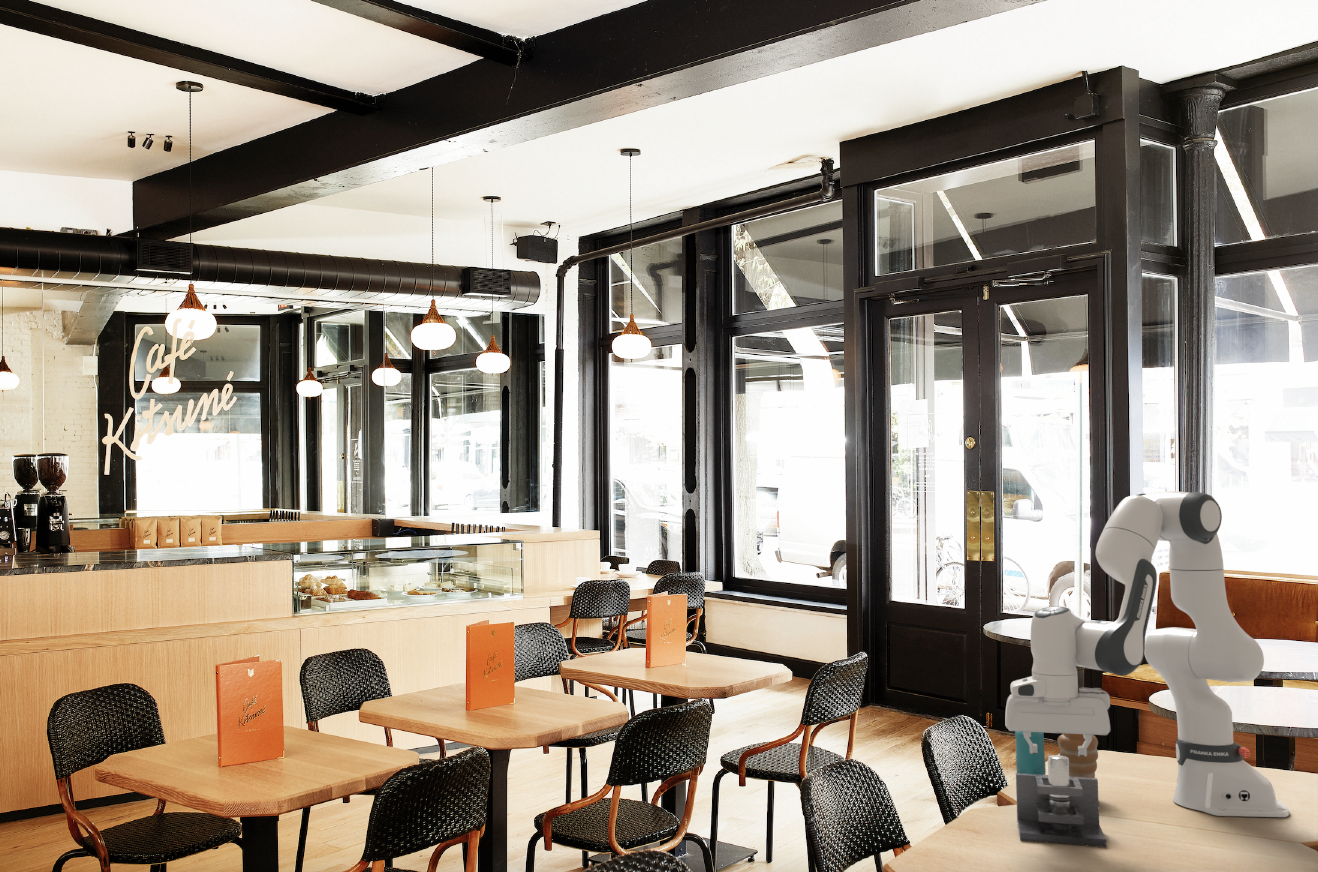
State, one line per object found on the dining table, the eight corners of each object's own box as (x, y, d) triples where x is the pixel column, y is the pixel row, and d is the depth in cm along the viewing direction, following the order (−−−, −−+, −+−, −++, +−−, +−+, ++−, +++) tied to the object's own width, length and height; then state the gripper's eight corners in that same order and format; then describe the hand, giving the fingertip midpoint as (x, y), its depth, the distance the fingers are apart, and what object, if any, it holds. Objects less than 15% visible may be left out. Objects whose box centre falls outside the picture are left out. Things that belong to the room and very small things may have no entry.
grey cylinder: (1070, 825, 210) (1068, 755, 211) (1072, 831, 206) (1070, 760, 207) (1048, 823, 211) (1046, 754, 212) (1050, 829, 207) (1048, 759, 208)
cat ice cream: (1097, 793, 239) (1094, 715, 240) (1103, 802, 231) (1100, 722, 232) (1057, 791, 241) (1054, 714, 242) (1062, 800, 233) (1059, 720, 234)
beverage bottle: (1049, 806, 228) (1046, 715, 230) (1018, 804, 230) (1015, 714, 231) (1044, 798, 235) (1041, 710, 236) (1014, 797, 236) (1011, 709, 238)
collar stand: (1098, 829, 212) (1096, 777, 212) (1106, 847, 200) (1104, 792, 201) (1017, 823, 216) (1015, 772, 217) (1020, 840, 205) (1018, 787, 206)
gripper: (1107, 685, 211) (1110, 753, 210) (1003, 682, 216) (1005, 748, 215) (1111, 691, 205) (1114, 761, 204) (1004, 687, 210) (1007, 755, 209)
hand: (1058, 754), depth 210 cm, fingers open, 8 cm apart
